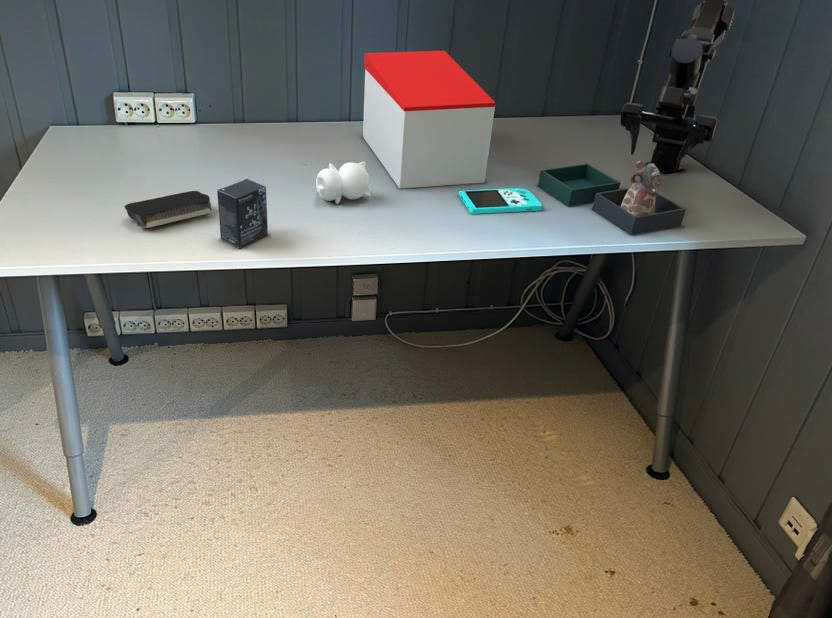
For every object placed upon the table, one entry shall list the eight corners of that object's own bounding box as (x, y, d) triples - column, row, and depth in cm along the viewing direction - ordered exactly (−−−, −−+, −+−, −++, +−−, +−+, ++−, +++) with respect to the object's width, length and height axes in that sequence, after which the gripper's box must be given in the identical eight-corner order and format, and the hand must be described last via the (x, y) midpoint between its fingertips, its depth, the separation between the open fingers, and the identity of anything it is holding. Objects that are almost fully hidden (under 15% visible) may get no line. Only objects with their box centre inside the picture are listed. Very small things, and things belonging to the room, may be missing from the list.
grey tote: (639, 201, 163) (644, 185, 161) (680, 225, 154) (686, 209, 151) (591, 209, 159) (595, 193, 157) (630, 235, 149) (635, 218, 147)
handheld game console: (542, 210, 158) (543, 205, 157) (471, 214, 156) (471, 208, 155) (526, 192, 166) (527, 186, 165) (458, 195, 164) (458, 189, 163)
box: (239, 249, 141) (236, 198, 134) (220, 240, 143) (215, 189, 137) (269, 235, 145) (266, 185, 139) (249, 227, 148) (246, 177, 142)
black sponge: (139, 234, 145) (137, 217, 142) (125, 218, 150) (122, 201, 148) (215, 216, 152) (214, 200, 150) (199, 201, 158) (197, 185, 156)
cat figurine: (315, 161, 153) (370, 154, 155) (305, 171, 163) (357, 164, 166) (323, 203, 153) (377, 195, 156) (313, 211, 164) (363, 203, 167)
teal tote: (584, 178, 173) (587, 163, 171) (616, 198, 164) (620, 182, 162) (537, 185, 169) (540, 170, 167) (568, 206, 160) (571, 190, 158)
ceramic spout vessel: (644, 228, 152) (659, 172, 145) (612, 217, 156) (626, 163, 149) (658, 217, 157) (674, 163, 150) (627, 207, 160) (641, 154, 153)
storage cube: (436, 132, 197) (444, 50, 185) (484, 182, 170) (497, 90, 158) (362, 136, 193) (364, 53, 181) (399, 188, 166) (405, 94, 153)
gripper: (634, 62, 150) (609, 130, 149) (731, 76, 143) (706, 148, 142) (632, 92, 161) (609, 156, 159) (723, 106, 154) (699, 174, 152)
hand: (654, 158), depth 153 cm, fingers open, 9 cm apart
